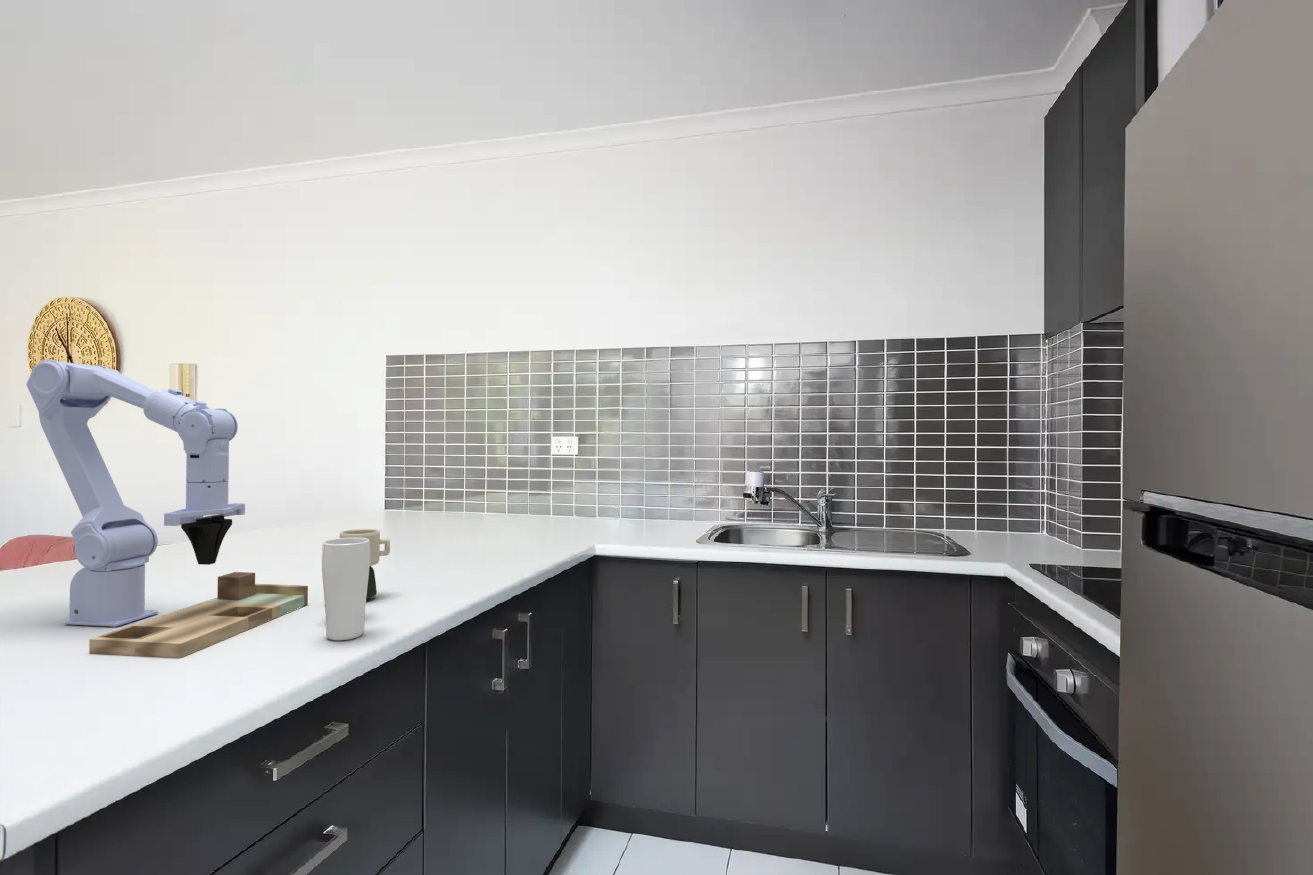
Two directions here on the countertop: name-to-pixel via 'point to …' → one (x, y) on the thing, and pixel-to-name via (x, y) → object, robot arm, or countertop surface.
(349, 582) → the drinking glass
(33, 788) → the countertop surface
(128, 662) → the countertop surface
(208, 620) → the wooden board
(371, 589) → the character mug
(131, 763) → the countertop surface
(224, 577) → the block
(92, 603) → the robot arm
